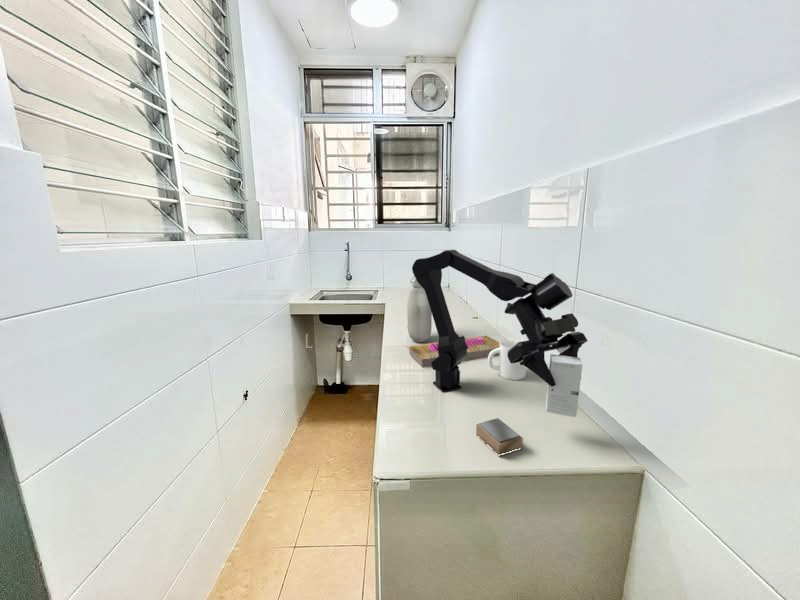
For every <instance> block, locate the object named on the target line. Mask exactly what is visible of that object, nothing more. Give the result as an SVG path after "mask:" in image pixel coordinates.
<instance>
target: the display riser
mask: <svg viewBox="0 0 800 600" xmlns="http://www.w3.org/2000/svg"><path fill="white" fill-rule="evenodd" d="M475 427H476V429H475V430H476V431H475V433H476V434H475V435H477V436H479V437H480V438H481V439H482V440H483V441H484V442H485V443H486V444H488V445H489V446H490V447H491V448H492V449H493V450H494V451H495V452H496V453H497V454H498V455H499V454H502V453H506V452H509V451H512V450H515V449H519V448H522V449H523V440H524V439H523V436H521V435H520V434H519V433H517V432H516V430H514V429H513V428H511V427H510V426H509V425H508V424H506V423H505V422H504V421H503V420H501V419H500V418H499V417H496V418H494V419H489V420H486V421H482V422H478V423H476V426H475ZM477 436H476V437H477ZM480 438H479V439H480ZM481 439H480V440H481ZM482 440H481V441H482ZM483 441H482V442H483ZM484 442H483V443H484ZM485 443H484V444H485ZM486 444H485V445H486Z"/></svg>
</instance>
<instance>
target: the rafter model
mask: <svg viewBox="0 0 800 600" xmlns="http://www.w3.org/2000/svg"><path fill="white" fill-rule="evenodd" d="M464 338H465V343H466V345H467V347H468V349H467V355H466V358H465V359H464V360H462V362H464V361H469V360H476V359H483V358H488V355H489V353H490V352H491V351H492V350H494V349H496V348H500V342H499V341H497V340H496V339H493V338H492V337H490V336H488V335H481V336H480V335H479V336H474V337H467V338H466V337H464ZM486 344H487V345H486ZM406 348H407V349H408V350H409V354H410V355H411V356H410V355H409V354H408V355H409V356H410V357H411V358H412V360H414V361H415V362H416V363H417V364H418V365H419V366H420V367H421V368H426V367H432V364H431V362H433V361H434V360H435V359H436V358H437V357H439V354H438V341H437V342H431V343H425V344H424V343H423V344H417V345H410V346H409V345H408V346H406ZM495 356H499V353H496V354H494V355H493V357H495Z"/></svg>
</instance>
